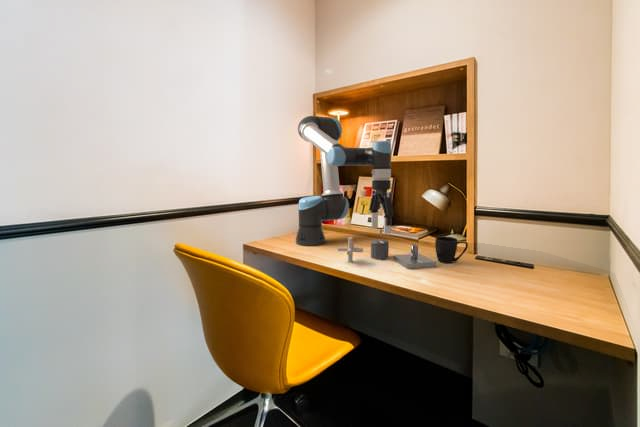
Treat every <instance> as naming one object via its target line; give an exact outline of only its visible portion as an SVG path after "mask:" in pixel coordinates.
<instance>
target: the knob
mask: <svg viewBox="0 0 640 427" xmlns="http://www.w3.org/2000/svg"><path fill="white" fill-rule="evenodd" d="M389 242H390V241H389V240H387V239H382V238H381V239H372V240H371V242H370V243H371V244H370V258H371V259H373V260H378V261H381V260H382V261H383V260H388V259H389V248H390V246H389V244H390V243H389Z"/></svg>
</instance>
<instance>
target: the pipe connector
mask: <svg viewBox="0 0 640 427" xmlns="http://www.w3.org/2000/svg"><path fill="white" fill-rule="evenodd" d="M347 240H348V241H347V243H348V244H347V246H338V247H337V251H338V252H346V255H347V262H348V263H353V262H354V261H353V260H354V259H353V253H363V252H364V248H363V247H355V246H354V245H353V244H354V243H353V242H354V241H353V240H354V237H351V236H349V237H348V239H347Z"/></svg>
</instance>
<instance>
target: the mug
mask: <svg viewBox="0 0 640 427" xmlns="http://www.w3.org/2000/svg"><path fill="white" fill-rule="evenodd" d="M458 244H465V247H464V248H463V251H462V252H461V253H460V254H459V255H458V256H456V253H457V251H458V250H457V249H458ZM434 245H435V254H436V258H437V262H439V263H440V264H447V265H448V264H449V265H450V264H452V263H455V262H457V261H458V260H460V258H461V257H462V255H464V253H465V252H466V251H467V250H468V248H469V243H468V242H466V241H458V238H455V237H452V236H437V237H435V244H434Z"/></svg>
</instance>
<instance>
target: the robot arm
mask: <svg viewBox="0 0 640 427" xmlns="http://www.w3.org/2000/svg"><path fill="white" fill-rule="evenodd" d="M342 133H343V127H342V124H341V122H340V120H339V119H338V118H336V117H331V116H319V115H318V116H317V115H308V116H305V117H303V118H302V119H301V120H300V121H299V123H298V125H297V134H298V135H299V137H300V138H301V139H302V140H304V142H309V143H311V144H312V145H314V147H315V148H316V149H318V150H319V154H320V155H319V156H320V164H321V177H322V187H323V188H322V190H323V192H322V194H321V195H314V196H313V195H312V196H305V197H302V198H300V199H299V201H298V207H297V208H298V209H297V210H298V230H297V232H296V233H297V234H296V237H295V243H296V245H299V246H306V247H307V246H309V247H311V246H313V247H314V246H321V245H324V244H325V243H326V236H325V233H324V230H323V226H322V225H323V224H322V222H326V221H327V222H328V221H338V220H342V219H344V218H345V217H347V215H348V213H349V208H350V203H349V200H348V199H347V197H345V196H344V193H343V192H342V191H341V189H340V178H339V177H340V176H339V168H338V167H342V166H343V167H344V166H345V167H349V166H351V167H352V166H354V167H356V166H357V167H358V166H360V167H366V166H368V167H369V166H371V167H372V168H371V169H372V170H371V175H372V176H371V178H372V181H371V189H372V195H371V198H370V204H369V209H368V210H369V211H370V213H371V229H373V228H374V229H375V228H379V208H380V206H382V211H383V214H384V216H383V234H385V235H389V234H392V217H395V212H394V206H393V202H392V193H391V192H390V191H389V192H388V190H390V189H391V186H392V184H391V180H390V179H391V178H392V169H391V168H392V143H391V141H388V140H378V141H377V140H376V141H373V143H372V145H371V146H372V147H347V146H344V145H342V144H340V143H339V140H340V138H342Z"/></svg>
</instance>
